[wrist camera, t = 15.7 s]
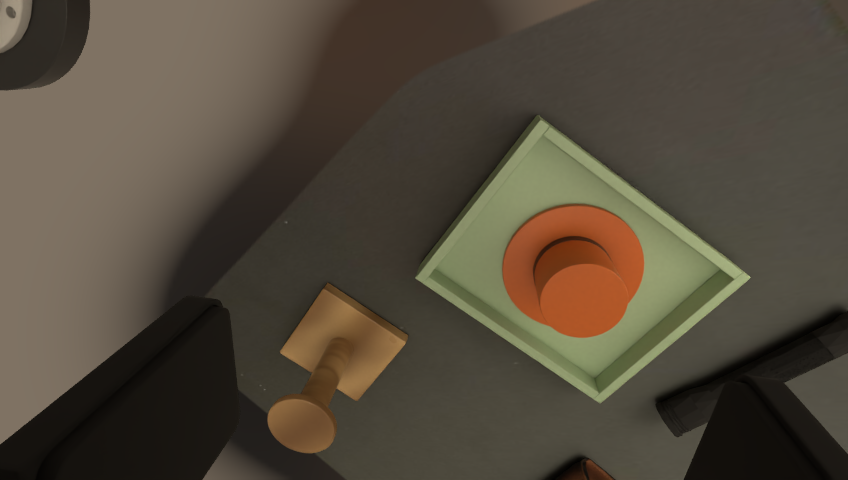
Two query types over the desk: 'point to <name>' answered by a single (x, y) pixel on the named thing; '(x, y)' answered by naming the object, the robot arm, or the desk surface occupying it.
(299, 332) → the hat stand
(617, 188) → the tray
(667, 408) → the flashlight
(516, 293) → the small hat
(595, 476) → the sunglasses case
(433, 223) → the desk surface
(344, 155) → the desk surface
